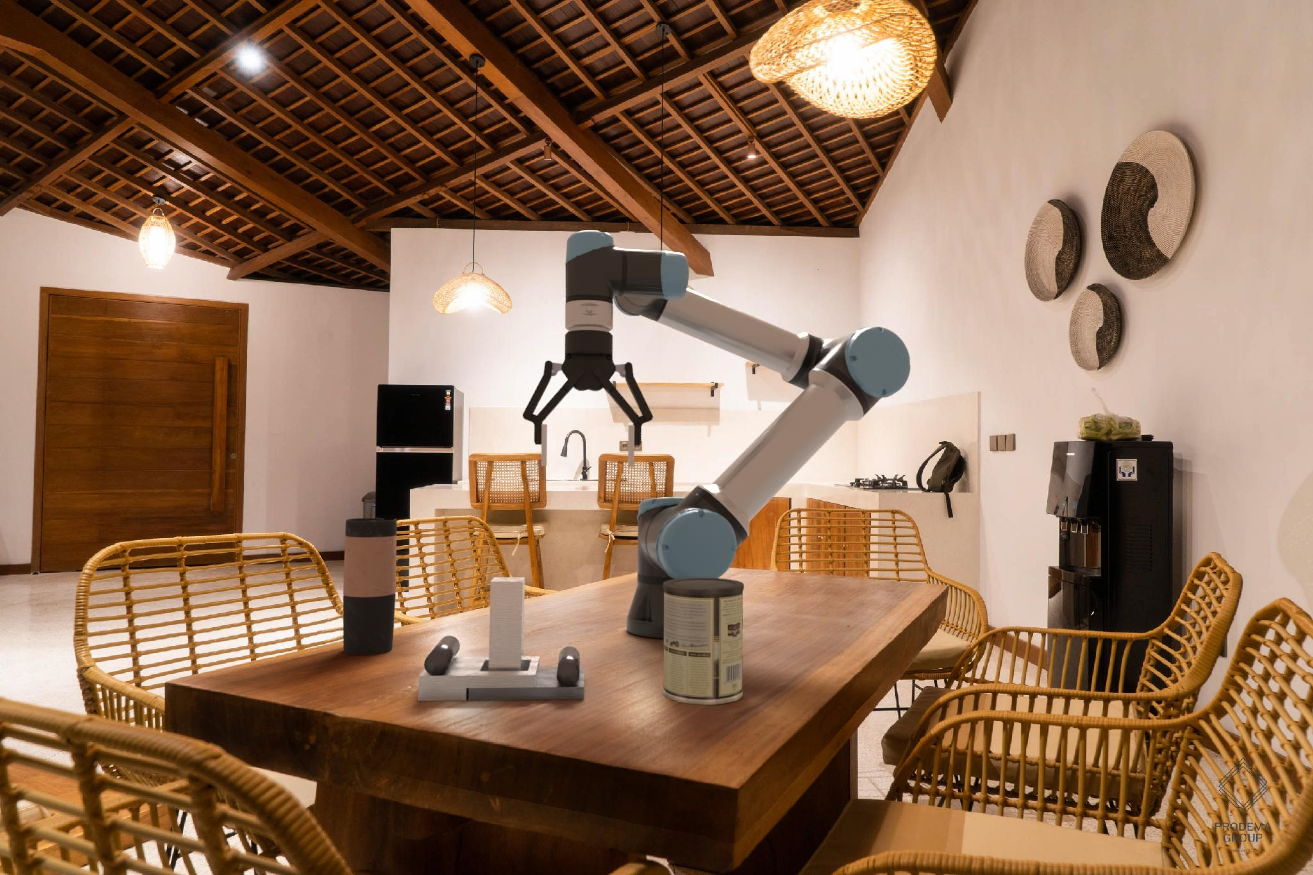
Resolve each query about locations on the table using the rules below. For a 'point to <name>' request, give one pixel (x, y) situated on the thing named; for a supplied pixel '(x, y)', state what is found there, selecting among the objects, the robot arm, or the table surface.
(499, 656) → the pin
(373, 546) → the travel mug
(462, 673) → the base with two rollers
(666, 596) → the coffee can
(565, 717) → the table surface
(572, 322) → the robot arm
